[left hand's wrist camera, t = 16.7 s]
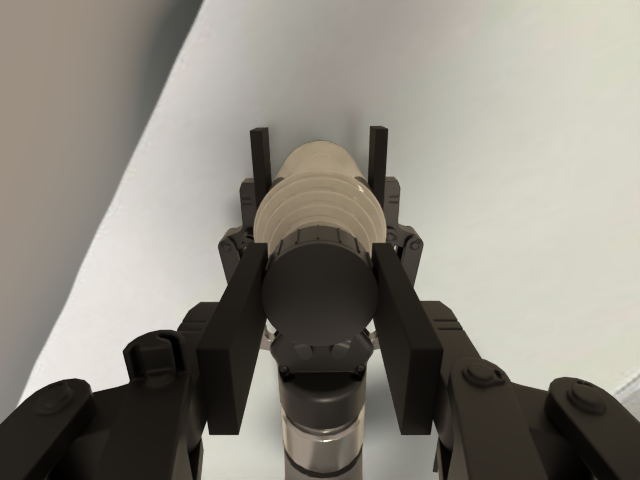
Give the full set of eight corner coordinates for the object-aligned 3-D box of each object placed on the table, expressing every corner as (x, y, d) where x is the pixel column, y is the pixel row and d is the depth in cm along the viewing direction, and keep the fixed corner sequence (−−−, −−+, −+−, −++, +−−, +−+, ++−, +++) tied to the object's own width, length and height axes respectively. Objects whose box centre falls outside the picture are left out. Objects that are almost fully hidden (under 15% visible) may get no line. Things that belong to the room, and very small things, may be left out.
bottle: (290, 130, 29) (246, 176, 12) (370, 153, 30) (443, 230, 12) (272, 209, 32) (212, 344, 14) (346, 228, 33) (378, 381, 15)
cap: (287, 330, 16) (282, 359, 14) (250, 242, 14) (240, 262, 12) (384, 304, 15) (392, 331, 13) (356, 210, 14) (362, 226, 12)
